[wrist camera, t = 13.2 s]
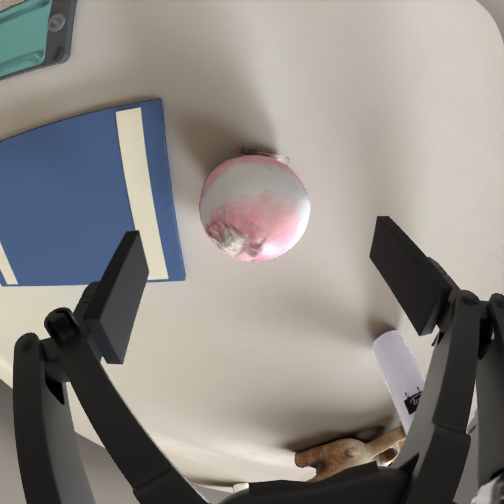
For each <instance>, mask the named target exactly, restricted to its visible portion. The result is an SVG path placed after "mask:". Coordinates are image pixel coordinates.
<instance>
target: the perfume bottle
mask: <svg viewBox="0 0 504 504" xmlns="http://www.w3.org/2000/svg"><path fill="white" fill-rule="evenodd" d="M371 350H372V353H373V355H374V357H375V359H376V362H377V364H378V366H379V369H380V371H381V373H382V376H383V378H384V381H385V383H386V385H387V388H388V390H389V393H390V395H391V398H392V400H393V403H394V405H395V408H396V410H397V413H398V416H399V418H400V421H401V423H402V426H403V429H404V431H405V434H406V436H407V434H408V431H409V429H410V426H411V423H412V421H413V418H414V415H415V412H416V409H417V406H418V403H419V400H420V397H421V394H422V391H423V388H424V384H425V381H426V379H425V377H424V375H423V373H422V371H421V369H420V367H419V365H418V364H417V362H416V360H415V358H414V356H413V354H412V352H411V350H410V348H409V346H408V345H407V343H406V341H405V339H404V337H403V335H402V334H401V332H399V331H396V330H395V331H389V332H386V333H384V334H382V335H381V336H379V337H378V338H377V339H376V340H375V341H374V342H373V344H372V347H371Z"/></svg>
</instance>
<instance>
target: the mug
mask: <svg viewBox="0 0 504 504" xmlns="http://www.w3.org/2000/svg"><path fill="white" fill-rule="evenodd" d="M246 488H249V484H248V483H239V484H235V485H233V493H235V492H238V491H240V490H243V489H246Z"/></svg>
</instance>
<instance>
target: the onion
mask: <svg viewBox="0 0 504 504" xmlns="http://www.w3.org/2000/svg"><path fill="white" fill-rule="evenodd" d="M236 148H237V151H241V152H240V153H243V154H245V155H246V156H240V157H236V158H233V159H229V160H227V161H224V162H222V163H220V164H219V166H217V167H216V168H215V169H214V170H213V171H212V172H211V173H210V174H209V176H208V178H207V179H206V181H205V182H204V185H203V188H202V191H201V196H200V203H199V211H200V219H201V222H202V225H203V227H204V229H205V232H206V233H207V235H208V237H209V238H210V239H211V240H212V242H213V243H214V244H215V245H216V246H217V247H218V248H219V249H220V250H221V251H222V252H223V253H225V254H226V255H228V256H231V257H233V258H236V259H238V260H241V261H245V262H262V261H268V260H271V259H274V258H276V257H278V256H280V255H282V254H283V253H285V252H286V251H288V250H289V249H290V248H291V247H292V246H293V245H294V244H295V243H296V242H297V241H298V240H299V239H300V237H301V236H302V234H303V233H304V231H305V229H306V226H307V223H308V219H309V214H310V208H311V206H310V200H309V197H308V194H307V192H306V190H305V188H304V186H303V184H302V183H301V181H300V179H299V178H298V176H297V175H296V174H295V173H294V172H293V171H292V170H291V169H290V168H289V167H288V166H287V165H288V160H289V158H288V157H285V156H281V155H277V154H272V153H267V152H256V151H257V150H255V149H252V148H246V147H240V146H236ZM254 153H259V154H266V155H267V156H266V157H265V156H259V155H252V154H254Z"/></svg>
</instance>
